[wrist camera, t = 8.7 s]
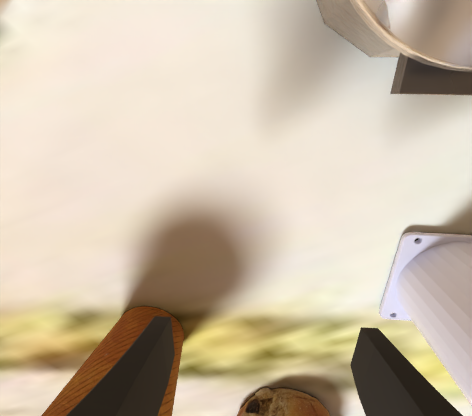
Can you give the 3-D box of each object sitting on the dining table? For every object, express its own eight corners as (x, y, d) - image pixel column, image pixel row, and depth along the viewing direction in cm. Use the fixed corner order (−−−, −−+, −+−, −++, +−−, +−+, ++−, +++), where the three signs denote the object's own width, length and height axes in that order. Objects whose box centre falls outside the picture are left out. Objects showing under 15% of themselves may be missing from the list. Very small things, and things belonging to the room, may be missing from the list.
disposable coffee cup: (184, 284, 22) (115, 465, 11) (211, 361, 26) (179, 555, 15) (86, 298, 24) (-60, 471, 13) (125, 368, 27) (36, 552, 16)
